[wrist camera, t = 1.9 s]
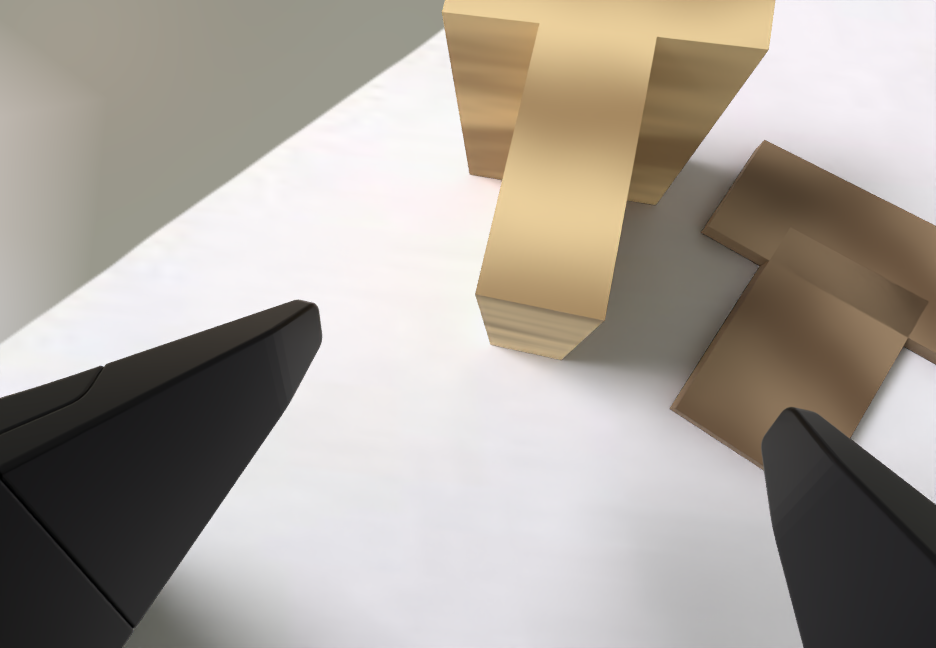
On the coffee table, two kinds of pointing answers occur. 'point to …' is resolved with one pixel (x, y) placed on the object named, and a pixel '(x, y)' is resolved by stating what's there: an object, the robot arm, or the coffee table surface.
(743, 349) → the walnut T outline
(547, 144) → the oak T block
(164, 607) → the coffee table surface
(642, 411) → the coffee table surface
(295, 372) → the robot arm
